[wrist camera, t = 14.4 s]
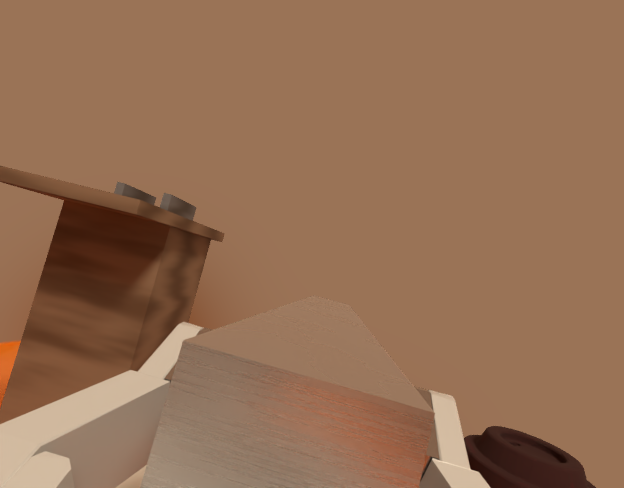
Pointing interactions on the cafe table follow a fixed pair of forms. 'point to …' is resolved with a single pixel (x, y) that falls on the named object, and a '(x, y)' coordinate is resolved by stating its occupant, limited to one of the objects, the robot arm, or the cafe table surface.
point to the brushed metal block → (290, 407)
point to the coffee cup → (522, 461)
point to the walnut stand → (103, 288)
